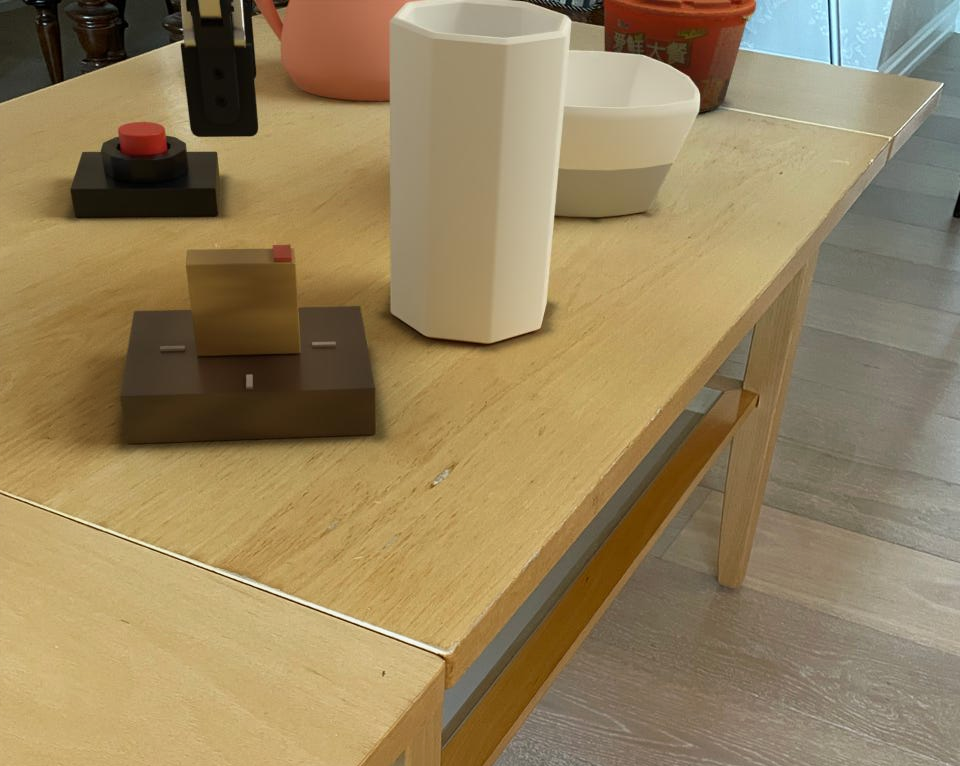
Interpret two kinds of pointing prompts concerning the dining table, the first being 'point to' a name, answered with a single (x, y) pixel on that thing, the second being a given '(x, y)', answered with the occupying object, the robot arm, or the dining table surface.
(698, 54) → the food container
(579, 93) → the bowl
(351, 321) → the plate
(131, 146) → the button
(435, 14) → the cup
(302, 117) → the dining table surface
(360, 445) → the dining table surface
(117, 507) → the dining table surface
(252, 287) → the lock knob
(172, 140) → the button block
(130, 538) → the dining table surface
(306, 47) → the teapot
